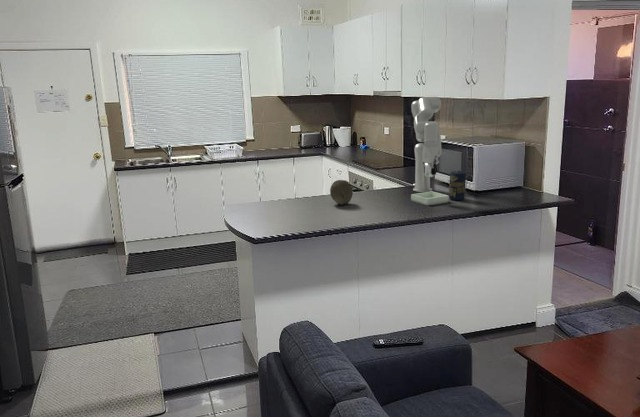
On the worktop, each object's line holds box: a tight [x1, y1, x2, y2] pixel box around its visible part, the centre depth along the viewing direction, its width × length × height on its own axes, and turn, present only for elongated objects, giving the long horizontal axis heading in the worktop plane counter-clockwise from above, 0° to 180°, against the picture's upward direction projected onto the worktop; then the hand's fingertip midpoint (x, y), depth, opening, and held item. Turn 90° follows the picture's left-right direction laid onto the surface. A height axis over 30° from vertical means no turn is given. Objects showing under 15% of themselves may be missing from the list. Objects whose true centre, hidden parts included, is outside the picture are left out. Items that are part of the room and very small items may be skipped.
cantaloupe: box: [329, 179, 354, 206], centre depth 315 cm, size 14×14×15 cm
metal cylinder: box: [425, 163, 436, 178], centre depth 312 cm, size 6×6×8 cm
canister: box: [448, 170, 467, 201], centre depth 317 cm, size 10×10×18 cm
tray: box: [410, 190, 450, 206], centre depth 316 cm, size 16×16×4 cm
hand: (430, 173), depth 313 cm, fingers closed on metal cylinder, 6 cm apart
